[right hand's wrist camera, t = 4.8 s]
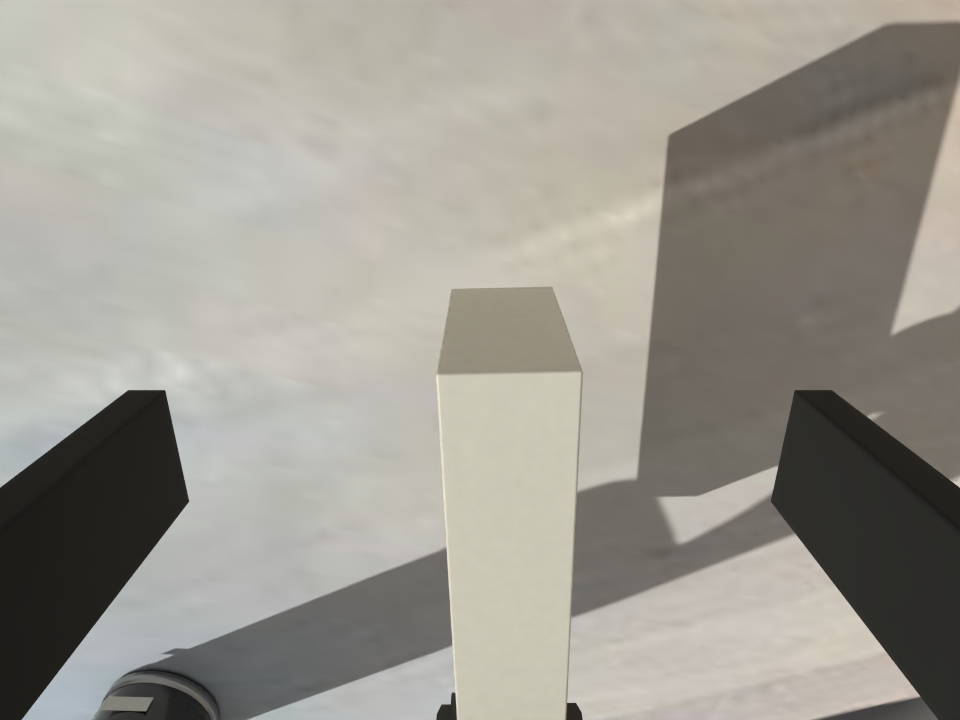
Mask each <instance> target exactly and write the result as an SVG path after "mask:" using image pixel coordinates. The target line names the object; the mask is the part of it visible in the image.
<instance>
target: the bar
mask: <svg viewBox="0 0 960 720" xmlns="http://www.w3.org/2000/svg"><path fill="white" fill-rule="evenodd" d="M582 380H583V371H582V369H581V366H580V363H579V360H578V357H577V355H576V352H575V349H574V346H573V343H572V341H571V338H570V335H569V332H568V329H567V327H566V324H565V321H564V318H563V316H562V313H561V310H560V307H559V304H558V302H557V299H556V296H555V293H554V290H553V288H552V287H523V288H479V289H452V290H451V294H450V300H449V305H448V311H447V316H446V322H445V328H444V333H443V339H442V344H441V350H440V356H439V361H438V367H437V373H436V383H437V400H438V416H439V432H440V449H441V465H442V481H443V498H444V514H445V530H446V547H447V563H448V579H449V596H450V612H451V628H452V645H453V661H454V677H455V694H456V710H457V720H566V712H567V691H568V671H569V650H570V629H571V608H572V588H573V567H574V546H575V525H576V504H577V484H578V463H579V442H580V421H581V400H582Z"/></svg>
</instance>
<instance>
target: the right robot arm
mask: <svg viewBox="0 0 960 720" xmlns="http://www.w3.org/2000/svg"><path fill="white" fill-rule="evenodd" d="M188 502H189V499H188V494H187V490H186V485H185V480H184V476H183V471H182V466H181V462H180V457H179V452H178V448H177V443H176V439H175V434H174V429H173V425H172V420H171V415H170V411H169V406H168V401H167V397H166V392H165V390H128V391H127V392H125V393H124V394H123V395H122V396H120V397H119V398H118V399H116V400H115V401H114V402H112V403H111V404H110V405H108V406H107V407H106V408H104V409H103V410H102V411H101V412H99V413H98V414H97V415H95V416H94V417H93V418H91V419H90V420H89V421H87V422H86V423H85V424H83V425H82V426H81V427H79V428H78V429H77V430H76V431H74V432H73V433H72V434H70V435H69V436H68V437H66V438H65V439H64V440H62V441H61V442H60V443H58V444H57V445H56V446H54V447H53V448H52V449H51V450H49V451H48V452H47V453H45V454H44V455H43V456H41V457H40V458H39V459H37V460H36V461H35V462H33V463H32V464H31V465H30V466H28V467H27V468H26V469H24V470H23V471H22V472H20V473H19V474H18V475H16V476H15V477H14V478H12V479H11V480H10V481H8V482H7V483H6V484H5V485H3V486H2V487H1V488H0V720H22V718H23V717H24V716H25V714H26V713H27V712H28V711H29V709H30V708H31V707H32V705H33V704H34V703H35V701H36V700H37V699H38V698H39V696H40V695H41V694H42V692H43V691H44V690H45V688H46V687H47V686H48V685H49V683H50V682H51V681H52V679H53V678H54V677H55V675H56V674H57V673H58V672H59V670H60V669H61V668H62V666H63V665H64V664H65V662H66V661H67V660H68V659H69V657H70V656H71V655H72V653H73V652H74V651H75V649H76V648H77V647H78V645H79V644H80V643H81V642H82V640H83V639H84V638H85V636H86V635H87V634H88V632H89V631H90V630H91V629H92V627H93V626H94V625H95V623H96V622H97V621H98V619H99V618H100V617H101V616H102V614H103V613H104V612H105V610H106V609H107V608H108V606H109V605H110V604H111V603H112V601H113V600H114V599H115V597H116V596H117V595H118V593H119V592H120V591H121V590H122V588H123V587H124V586H125V584H126V583H127V582H128V580H129V579H130V578H131V577H132V575H133V574H134V573H135V571H136V570H137V569H138V567H139V566H140V565H141V563H142V562H143V561H144V560H145V558H146V557H147V556H148V554H149V553H150V552H151V550H152V549H153V548H154V547H155V545H156V544H157V543H158V541H159V540H160V539H161V537H162V536H163V535H164V534H165V532H166V531H167V530H168V528H169V527H170V526H171V524H172V523H173V522H174V521H175V519H176V518H177V517H178V515H179V514H180V513H181V511H182V510H183V509H184V508H185V506H186V505H187V504H188ZM771 502H772V504H773V505H774V506H775V508H776V509H777V510H778V511H779V513H780V514H781V515H782V517H783V518H784V519H785V521H786V522H787V523H788V524H789V526H790V527H791V528H792V530H793V531H794V532H795V534H796V535H797V536H798V537H799V539H800V540H801V541H802V543H803V544H804V545H805V547H806V548H807V549H808V550H809V552H810V553H811V554H812V556H813V557H814V558H815V560H816V561H817V562H818V563H819V565H820V566H821V567H822V569H823V570H824V571H825V573H826V574H827V575H828V577H829V578H830V579H831V580H832V582H833V583H834V584H835V586H836V587H837V588H838V590H839V591H840V592H841V593H842V595H843V596H844V597H845V599H846V600H847V601H848V603H849V604H850V605H851V606H852V608H853V609H854V610H855V612H856V613H857V614H858V616H859V617H860V618H861V619H862V621H863V622H864V623H865V625H866V626H867V627H868V629H869V630H870V631H871V632H872V634H873V635H874V636H875V638H876V639H877V640H878V642H879V643H880V644H881V645H882V647H883V648H884V649H885V651H886V652H887V653H888V655H889V656H890V657H891V659H892V660H893V661H894V662H895V664H896V665H897V666H898V668H899V669H900V670H901V672H902V673H903V674H904V675H905V677H906V678H907V679H908V681H909V682H910V683H911V685H912V686H913V687H914V688H915V690H916V691H917V692H918V694H919V695H920V696H921V698H922V699H923V700H924V701H925V703H926V704H927V705H928V707H929V708H930V709H931V710H932V712H933V713H934V714H935V716H936V717H937V718H938V720H960V488H959V487H958V486H957V485H955V484H954V483H953V482H952V481H950V480H949V479H948V478H946V477H945V476H944V475H942V474H941V473H940V472H938V471H937V470H936V469H934V468H933V467H932V466H930V465H929V464H928V463H927V462H925V461H924V460H923V459H921V458H920V457H919V456H917V455H916V454H915V453H913V452H912V451H911V450H909V449H908V448H907V447H906V446H904V445H903V444H902V443H900V442H899V441H898V440H896V439H895V438H894V437H892V436H891V435H890V434H888V433H887V432H886V431H884V430H883V429H882V428H881V427H879V426H878V425H877V424H875V423H874V422H873V421H871V420H870V419H869V418H867V417H866V416H865V415H863V414H862V413H861V412H859V411H858V410H857V409H856V408H854V407H853V406H852V405H850V404H849V403H848V402H846V401H845V400H844V399H842V398H841V397H840V396H838V395H837V394H836V393H835V392H833V391H832V390H795V392H794V397H793V401H792V406H791V411H790V415H789V420H788V425H787V429H786V434H785V439H784V443H783V448H782V452H781V457H780V462H779V466H778V471H777V476H776V480H775V485H774V490H773V494H772V499H771Z"/></svg>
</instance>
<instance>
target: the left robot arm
mask: <svg viewBox="0 0 960 720" xmlns="http://www.w3.org/2000/svg"><path fill="white" fill-rule="evenodd" d="M218 719H219V713H218V709H217V706H216V704H215V702H214V700H213V699H212V697H211V696H210V695H209V694H208V693H207V692H206V691H205V690H204V689H203V688H201V687H200V686H199V685H197V684H196V683H194V682H192V681H190V680H188V679H186V678H184V677H181V676H178V675H175V674H171V673H167V672H161V671H141V672H135V673H132V674H129V675H126V676H124V677H122V678H120V679H119V680H118V681H116V682H115V683H114V684H113V686H112V687H111V688H110V690H109V692H108V693H107V695H106V696H105V698H104V700H103V702H102V705H101V707H100V708H99V710H98V711H97V713H96V714H95V716H94V718H93V719H92V720H218ZM437 720H457V710H456V694H455V693H452V696H451V705H441V707H440V709H439V711H438V713H437ZM566 720H582V713H581V711H580V709H579V707H578V706H577V704H576V703H567V712H566Z"/></svg>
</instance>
